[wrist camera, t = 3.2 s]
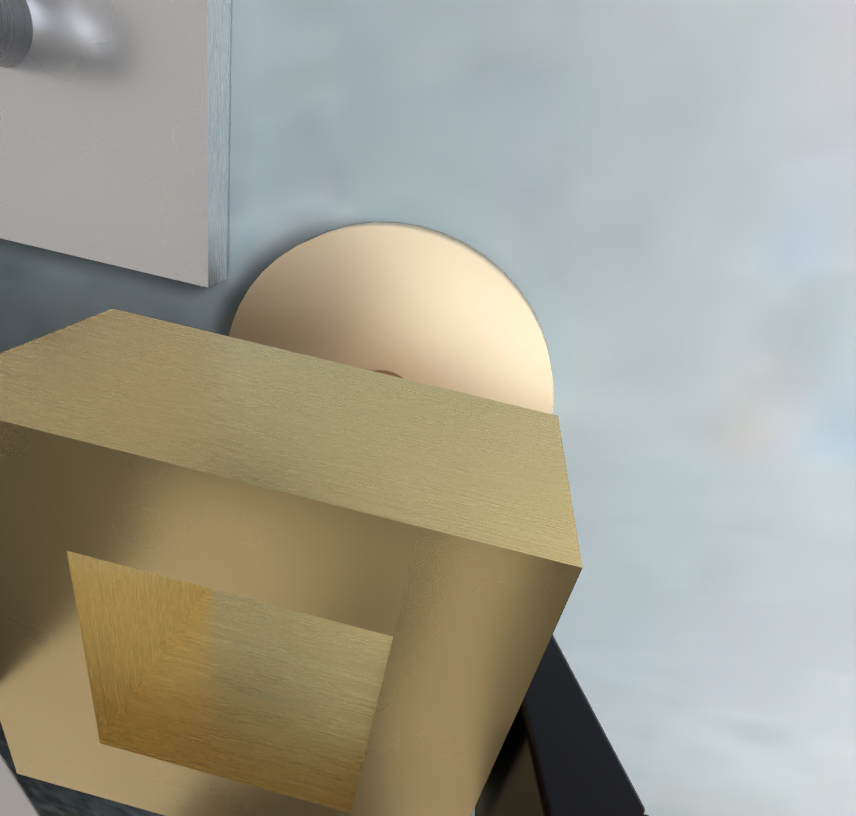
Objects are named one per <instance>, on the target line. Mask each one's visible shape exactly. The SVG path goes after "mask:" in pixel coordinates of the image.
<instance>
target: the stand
mask: <svg viewBox="0 0 856 816" xmlns="http://www.w3.org/2000/svg"><path fill="white" fill-rule="evenodd" d="M229 337H233V338H238V339H242V340H246V341H250V342H254V343H258V344H262V345H267V346H271V347H275V348H279V349H283V350H287V351H291V352H296V353H300V354H304V355H308V356H312V357H316V358H320V359H325V360H329V361H333V362H337V363H341V364H345V365H349V366H354V367H358V368H362V369H366V370H370V371H374V372H378V373H383V374H387V375H391V376H395V377H399V378H403V379H408V380H412V381H416V382H420V383H424V384H428V385H432V386H437V387H441V388H445V389H449V390H453V391H457V392H461V393H466V394H470V395H474V396H478V397H482V398H486V399H490V400H495V401H499V402H503V403H507V404H511V405H515V406H519V407H524V408H528V409H532V410H536V411H540V412H544V413H548V414H552V411H553V402H554V397H553V378H552V372H551V366H550V360H549V355H548V349H547V344H546V341H545V338H544V335H543V332H542V329H541V326H540V324H539V322H538V320H537V318H536V316H535V314H534V312H533V310H532V308H531V306H530V305H529V303H528V302H527V300H526V299H525V297H524V296H523V294H522V293H521V291H520V290H519V289H518V287H517V286H516V285H515V284H514V283H513V282H512V281H511V279H510V278H509V277H508V276H507V275H506V274H505V273H504V272H503V271H502V270H501V269H500V268H499V267H498V266H496V265H495V264H494V263H493V262H492V261H491V260H489V259H488V258H487V257H486V256H485V255H483V254H481V253H480V252H478V251H477V250H475V249H474V248H472V247H470V246H469V245H467V244H466V243H464V242H462V241H460V240H457V239H455V238H453V237H451V236H449V235H446V234H444V233H442V232H438V231H435V230H432V229H428V228H425V227H422V226H417V225H411V224H404V223H398V222H370V223H362V224H354V225H349V226H346V227H342V228H338V229H335V230H331V231H329V232H326V233H324V234H322V235H320V236H318V237H315V238H313V239H311V240H309V241H306V242H304V243H302V244H300V245H297V246H296V247H294V248H293V249H291V250H290V251H288V252H286V253H285V254H283V255H282V256H280V257H279V258H277V259H276V260H275V261H274V262H273V263H272V264H271V265H270V266H269V267H267V268H266V269H265V270H264V271H263V272H262V273H261V274H260V276H259V277H258V278H257V279H256V280H255V282H254V283H253V284H252V285H251V287H250V288H249V289H248V291H247V293H246V295H245V296H244V298H243V300H242V301H241V303H240V305H239V307H238V309H237V312H236V315H235V317H234V320H233V322H232V325H231V329H230V334H229Z"/></svg>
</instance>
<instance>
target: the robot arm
mask: <svg viewBox="0 0 856 816" xmlns="http://www.w3.org/2000/svg"><path fill="white" fill-rule="evenodd" d="M644 812H645V808H644V806H643V804H642V802H641V800H640V798H639V796H638V795H637V793H636V791H635V789H634V787H633V785H632V783H631V781H630V779H629V778H628V776H627V774H626V772H625V770H624V768H623V766H622V764H621V762H620V761H619V759H618V757H617V755H616V753H615V751H614V749H613V747H612V746H611V744H610V742H609V740H608V738H607V736H606V734H605V732H604V730H603V729H602V727H601V725H600V723H599V721H598V719H597V717H596V715H595V713H594V712H593V710H592V708H591V706H590V704H589V702H588V700H587V698H586V696H585V695H584V693H583V691H582V689H581V687H580V685H579V683H578V681H577V680H576V678H575V676H574V674H573V672H572V670H571V668H570V666H569V664H568V663H567V661H566V659H565V657H564V655H563V653H562V651H561V649H560V647H559V646H558V644H557V642H556V640H555V638H554V636H553V634H552V636H551V639H550V641H549V643H548V645H547V648H546V650H545V652H544V654H543V656H542V659H541V661H540V663H539V665H538V668H537V670H536V672H535V674H534V676H533V679H532V681H531V683H530V685H529V688H528V690H527V692H526V694H525V697H524V699H523V701H522V703H521V705H520V708H519V710H518V712H517V714H516V717H515V719H514V721H513V723H512V725H511V728H510V730H509V732H508V734H507V737H506V739H505V741H504V743H503V745H502V748H501V750H500V752H499V754H498V757H497V759H496V761H495V763H494V765H493V768H492V770H491V772H490V774H489V777H488V779H487V781H486V783H485V785H484V788H483V790H482V792H481V794H480V797H479V799H478V801H477V803H476V805H475V816H648V815H646V814H645V815H644Z"/></svg>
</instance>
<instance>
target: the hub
mask: <svg viewBox="0 0 856 816" xmlns="http://www.w3.org/2000/svg"><path fill="white" fill-rule="evenodd" d="M230 32H231V0H0V238H1V239H5V240H10V241H14V242H18V243H22V244H26V245H31V246H35V247H39V248H43V249H48V250H52V251H56V252H60V253H64V254H69V255H73V256H77V257H81V258H85V259H90V260H94V261H98V262H102V263H107V264H111V265H115V266H119V267H123V268H128V269H132V270H136V271H140V272H144V273H149V274H153V275H157V276H161V277H165V278H170V279H174V280H178V281H182V282H187V283H191V284H195V285H199V286H203V287H208V288H209V287H211V286H213V285H215V284H217V283H220V282H222V281H224V280H226V279H227V245H228V174H229V103H230Z"/></svg>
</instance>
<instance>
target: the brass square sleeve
mask: <svg viewBox="0 0 856 816" xmlns="http://www.w3.org/2000/svg"><path fill="white" fill-rule="evenodd" d="M581 570H582V563H581V556H580V550H579V544H578V538H577V532H576V525H575V519H574V513H573V507H572V501H571V495H570V488H569V482H568V476H567V470H566V464H565V457H564V451H563V445H562V439H561V433H560V426H559V420H558V416H557V415H553V414H548V413H544V412H540V411H536V410H532V409H528V408H524V407H519V406H515V405H511V404H507V403H503V402H499V401H495V400H490V399H486V398H482V397H478V396H474V395H470V394H466V393H461V392H457V391H453V390H449V389H445V388H441V387H437V386H432V385H428V384H424V383H420V382H416V381H412V380H408V379H403V378H399V377H395V376H391V375H387V374H383V373H378V372H374V371H370V370H366V369H362V368H358V367H354V366H349V365H345V364H341V363H337V362H333V361H329V360H325V359H320V358H316V357H312V356H308V355H304V354H300V353H296V352H291V351H287V350H283V349H279V348H275V347H271V346H267V345H262V344H258V343H254V342H250V341H246V340H242V339H238V338H233V337H229V336H225V335H221V334H217V333H213V332H209V331H204V330H200V329H196V328H192V327H188V326H184V325H180V324H175V323H171V322H167V321H163V320H159V319H155V318H150V317H146V316H142V315H138V314H134V313H130V312H126V311H121V310H117V309H113V308H112V309H110V310H107V311H105V312H102V313H100V314H97V315H95V316H92V317H90V318H87V319H85V320H82V321H80V322H77V323H75V324H72V325H70V326H67V327H65V328H62V329H60V330H57V331H55V332H52V333H50V334H47V335H45V336H42V337H40V338H37V339H35V340H32V341H30V342H27V343H25V344H22V345H20V346H17V347H15V348H12V349H10V350H7V351H5V352H2V353H0V721H1V724H2V727H3V730H4V734H5V737H6V740H7V743H8V746H9V749H10V753H11V756H12V759H13V762H14V765H15V768H16V772H17V774H21V775H24V776H28V777H31V778H35V779H38V780H42V781H45V782H49V783H53V784H56V785H60V786H63V787H67V788H70V789H74V790H77V791H81V792H84V793H88V794H91V795H95V796H98V797H102V798H105V799H109V800H112V801H116V802H119V803H123V804H127V805H130V806H134V807H137V808H141V809H144V810H148V811H151V812H155V813H158V814H162V815H165V816H471V814H472V812H473V810H474V808H475V805H476V803H477V801H478V799H479V797H480V794H481V792H482V790H483V788H484V785H485V783H486V781H487V779H488V777H489V774H490V772H491V770H492V768H493V765H494V763H495V761H496V759H497V757H498V754H499V752H500V750H501V748H502V745H503V743H504V741H505V739H506V737H507V734H508V732H509V730H510V728H511V725H512V723H513V721H514V719H515V717H516V714H517V712H518V710H519V708H520V705H521V703H522V701H523V699H524V697H525V694H526V692H527V690H528V688H529V685H530V683H531V681H532V679H533V676H534V674H535V672H536V670H537V668H538V665H539V663H540V661H541V659H542V656H543V654H544V652H545V650H546V648H547V645H548V643H549V641H550V639H551V636H552V634H553V632H554V630H555V628H556V625H557V623H558V621H559V619H560V616H561V614H562V612H563V610H564V608H565V605H566V603H567V601H568V599H569V596H570V594H571V592H572V590H573V588H574V585H575V583H576V581H577V579H578V576H579V574H580V572H581Z"/></svg>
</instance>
